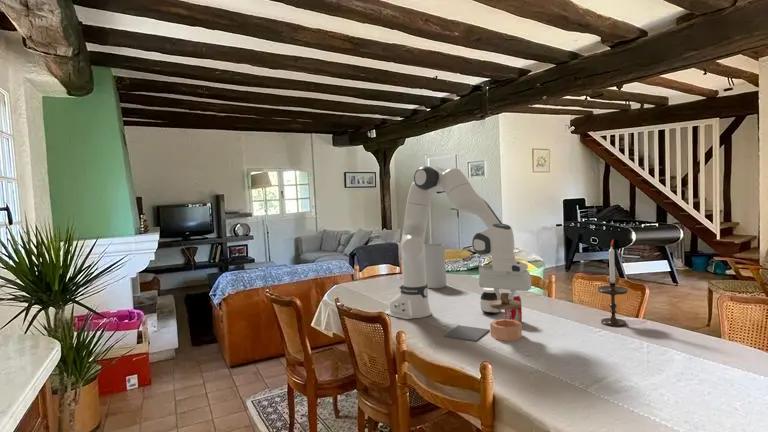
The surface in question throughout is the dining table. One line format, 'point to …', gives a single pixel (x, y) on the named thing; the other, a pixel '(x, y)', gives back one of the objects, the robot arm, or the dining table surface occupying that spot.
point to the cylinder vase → (435, 266)
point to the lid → (505, 303)
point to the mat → (467, 333)
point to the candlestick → (612, 293)
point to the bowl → (506, 329)
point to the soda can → (514, 310)
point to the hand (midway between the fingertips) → (505, 300)
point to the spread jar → (488, 301)
